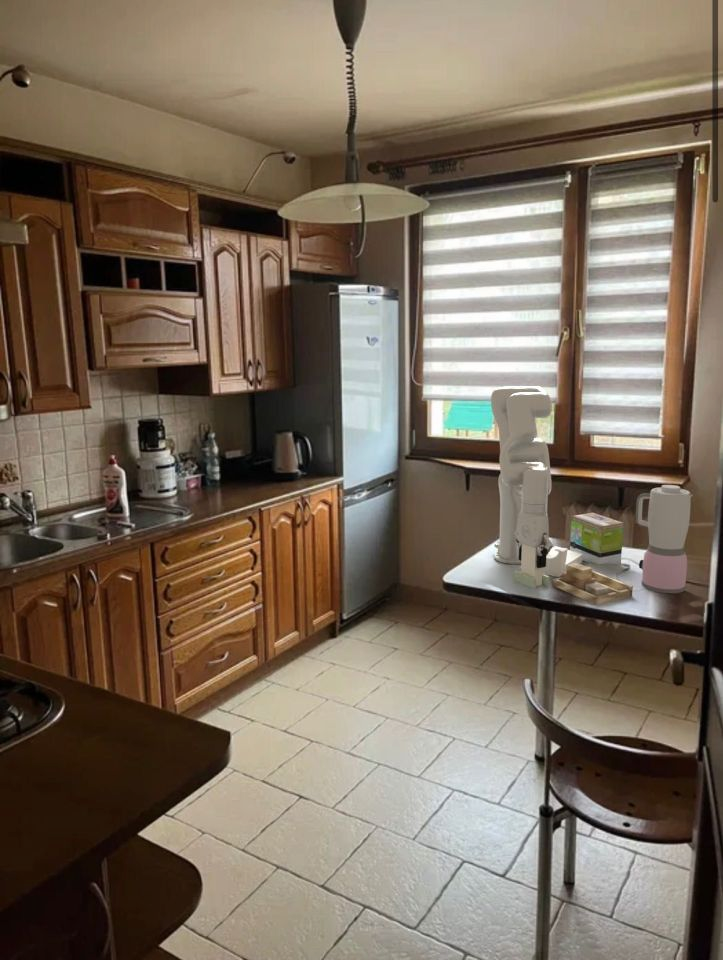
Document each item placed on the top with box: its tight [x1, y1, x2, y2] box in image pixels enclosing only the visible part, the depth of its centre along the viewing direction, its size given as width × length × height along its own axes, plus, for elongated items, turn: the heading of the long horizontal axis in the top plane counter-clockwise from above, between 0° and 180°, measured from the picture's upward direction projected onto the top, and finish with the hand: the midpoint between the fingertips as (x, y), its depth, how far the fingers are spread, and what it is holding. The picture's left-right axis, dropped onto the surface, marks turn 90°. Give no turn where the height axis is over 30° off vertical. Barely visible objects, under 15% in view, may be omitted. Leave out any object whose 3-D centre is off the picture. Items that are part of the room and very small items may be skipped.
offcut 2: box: [561, 572, 595, 591], centre depth 213 cm, size 9×4×4 cm, turn 27°
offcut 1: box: [566, 563, 593, 580], centre depth 213 cm, size 6×4×3 cm, turn 35°
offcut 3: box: [585, 583, 608, 596], centre depth 206 cm, size 5×4×4 cm
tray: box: [552, 570, 634, 605], centre depth 212 cm, size 18×14×4 cm
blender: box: [635, 484, 694, 594], centre depth 213 cm, size 16×12×32 cm
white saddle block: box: [542, 545, 583, 578], centre depth 233 cm, size 18×10×10 cm, turn 141°
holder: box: [513, 570, 550, 590], centre depth 219 cm, size 10×8×4 cm
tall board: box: [520, 543, 543, 587], centre depth 218 cm, size 6×3×15 cm, turn 26°
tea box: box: [569, 512, 624, 566], centre depth 243 cm, size 15×10×15 cm, turn 25°
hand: (532, 563), depth 218 cm, fingers open, 7 cm apart
